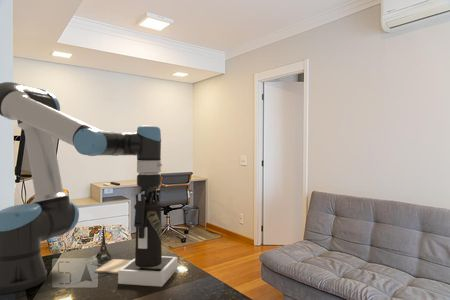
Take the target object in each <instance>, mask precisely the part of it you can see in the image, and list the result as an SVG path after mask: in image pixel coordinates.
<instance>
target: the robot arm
mask: <svg viewBox="0 0 450 300" xmlns="http://www.w3.org/2000/svg"><path fill="white" fill-rule="evenodd" d="M0 116H2V117H4V118H6V119H8V120H11V121H17V128H18V127H19V128H20V130H21V129H22V131H24V136H25V137H24V138H25V142H26V143H25V144H26V150H27V155H28V161H29V168H30V173H31V177H32V185H33V190H34V191H33V192H34V195H35V197H34V198H33V199H32V201H31V202H30V203H23V204H22V203H21V204H16V205H13V206H9V207H5V208H3V209H0V295H2V294H12V293H17V292H22V291H25V290H27V289H31V288H34V287H36V286H38V285H40V284H42V283H44V282H45V281H46V280H47V278H48V268H47V267H46V265H45V262H44V259H43V257H42V252H41V251H42V250H41V249H42V246H41V245H42V243H41V242H45V241H47V240H50V239H52V238H56V237H59V236H62V235H65V234H66V233H69V232H71V231H72V230H73V229H74V228H76V225H77V224H78V222H79V218H80V211H79V207H78V205H77V204H75V202H73V201H72V200H70V195H69V194H68V193H66V192H64V189H63V184H62V178H61V171H60V166H59V160H58V155H57V150H56V145H55V139H54V138H56V139H58V140H61V141H62V142H65V143H66V144H69V145H71V146H73V147H74V148H75V150H76V152H77V153H78V154H80V155H83V156H88V157H95V156H96V157H97V156H111V157H113V156H117V157H118V156H136V172H137V176H136V186H137V187H140V193H136V194H135V204H136V210H135V209H134V210H135V212H134V224H133V226H134V228H136V227H138V248H141V249H147V227H146V223H147V211H145V205H150V204H151V203H152V202H161V189H160V188H157V187H159V186H161V183H162V181H161V180H162V177H161V172H162V169H161V167H163V166H162V165H163V164H162V159H161V156H162V155H161V153H162V151H161V150H162V133H161V131H162V130H161V128H160V127H158V126H154V125H139V126H138V127H137V129H136V132H119V131H118V132H117V131H109V130H102V129H99V128H97V127H95V126H92V125H90V124H88V123H86V122H83V121H81V120H79V119H77V118H74V117H72V116H70V115H68V114H66V113H63V112H62V111H61V105H60V102H59V100H58V98H57V97H56V96H55V95H54V94H53V93H52V92H49V91H47V90H44V89H42V88H35V87H31V86H28V85H24V84H20V83H17V82H13V81H9V82H8V81H5V82H1V83H0Z"/></svg>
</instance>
